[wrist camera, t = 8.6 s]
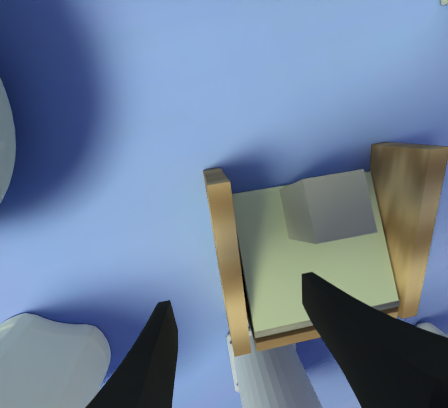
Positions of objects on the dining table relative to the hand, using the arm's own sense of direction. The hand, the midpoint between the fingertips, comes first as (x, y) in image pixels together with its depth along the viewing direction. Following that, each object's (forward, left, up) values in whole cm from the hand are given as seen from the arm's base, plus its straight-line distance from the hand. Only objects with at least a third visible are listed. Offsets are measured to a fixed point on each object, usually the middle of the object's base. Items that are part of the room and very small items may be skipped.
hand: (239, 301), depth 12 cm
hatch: (-3, -8, -8) cm, 11 cm away
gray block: (+1, -8, -8) cm, 11 cm away
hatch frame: (-2, -8, -10) cm, 13 cm away
